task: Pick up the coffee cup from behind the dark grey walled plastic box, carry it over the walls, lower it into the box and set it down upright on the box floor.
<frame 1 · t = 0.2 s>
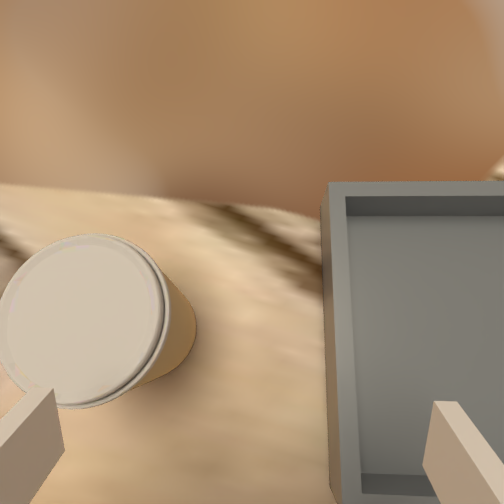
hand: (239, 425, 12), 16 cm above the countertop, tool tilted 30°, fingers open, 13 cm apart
walled box: (471, 334, 28), on the countertop
coffee cup: (152, 329, 30), on the countertop
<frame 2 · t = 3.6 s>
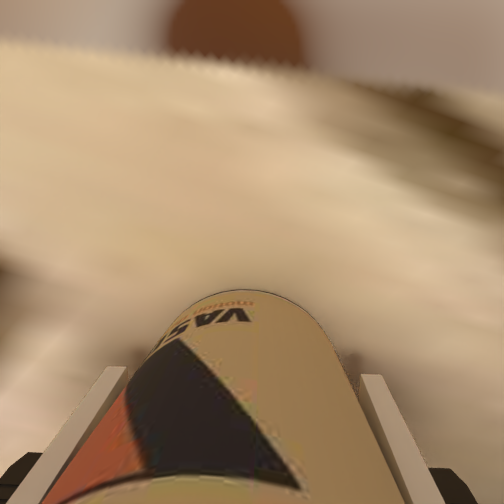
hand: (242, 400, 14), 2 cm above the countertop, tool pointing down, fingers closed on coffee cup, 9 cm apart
coffee cup: (246, 367, 16), on the countertop, touching gripper
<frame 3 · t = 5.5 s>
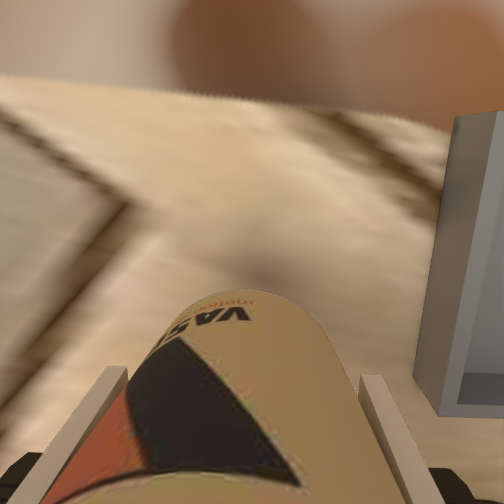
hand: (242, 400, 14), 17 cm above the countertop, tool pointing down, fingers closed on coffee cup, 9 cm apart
coffee cup: (246, 366, 16), point 14 cm above the countertop, touching gripper
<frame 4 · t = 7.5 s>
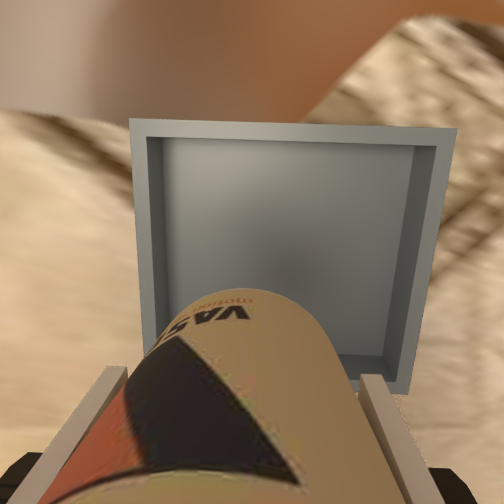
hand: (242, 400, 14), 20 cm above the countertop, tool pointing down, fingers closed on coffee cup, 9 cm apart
walled box: (279, 252, 33), on the countertop
coffee cup: (246, 365, 16), point 18 cm above the countertop, touching gripper
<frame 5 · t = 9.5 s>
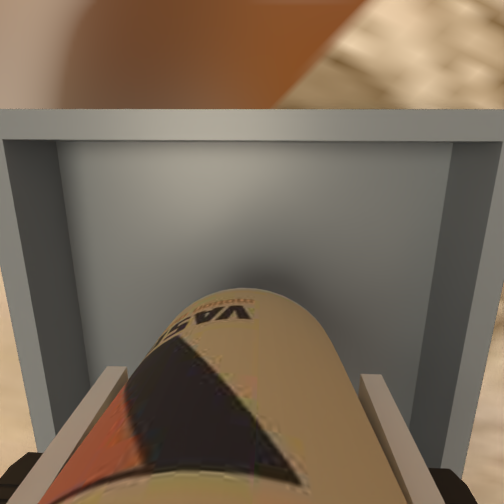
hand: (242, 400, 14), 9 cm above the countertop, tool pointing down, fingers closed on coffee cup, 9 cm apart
walled box: (250, 306, 22), on the countertop
coffee cup: (246, 365, 16), point 7 cm above the countertop, touching gripper
when the fingers open (4 cm above the countertop, at t = 11.2 s): coffee cup stays where it is, resting on walled box.
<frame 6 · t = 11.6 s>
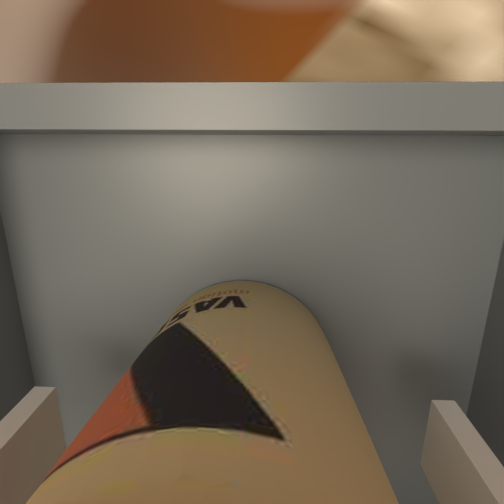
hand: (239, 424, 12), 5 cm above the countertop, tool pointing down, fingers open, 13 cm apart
walled box: (247, 346, 17), on the countertop
coffee cup: (243, 354, 17), point 1 cm above the countertop, touching walled box
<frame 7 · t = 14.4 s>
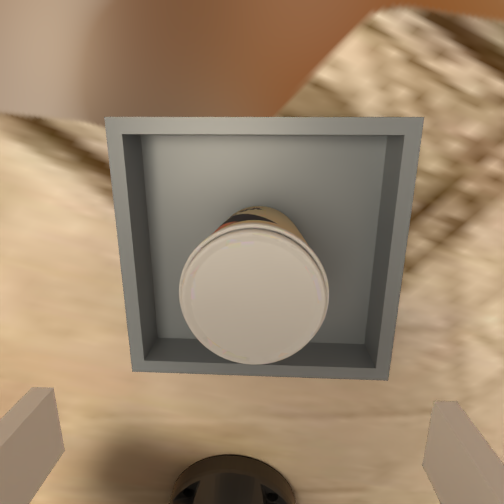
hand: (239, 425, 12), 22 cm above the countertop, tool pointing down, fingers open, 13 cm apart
walled box: (260, 244, 34), on the countertop
coffee cup: (259, 246, 33), point 1 cm above the countertop, touching walled box
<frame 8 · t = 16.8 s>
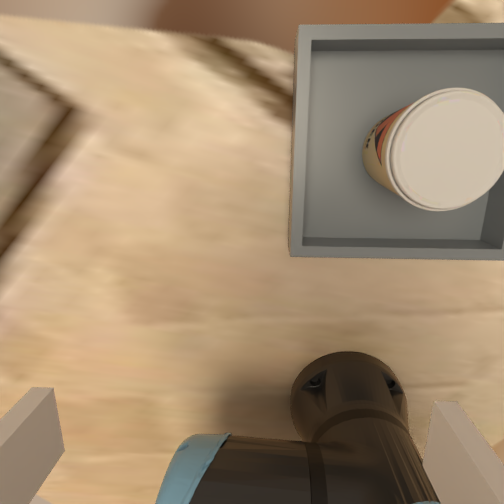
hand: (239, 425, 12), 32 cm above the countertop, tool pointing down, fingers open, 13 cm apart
walled box: (395, 151, 40), on the countertop
coffee cup: (396, 150, 39), point 1 cm above the countertop, touching walled box
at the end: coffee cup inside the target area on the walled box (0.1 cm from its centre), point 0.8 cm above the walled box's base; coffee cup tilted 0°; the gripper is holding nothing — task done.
